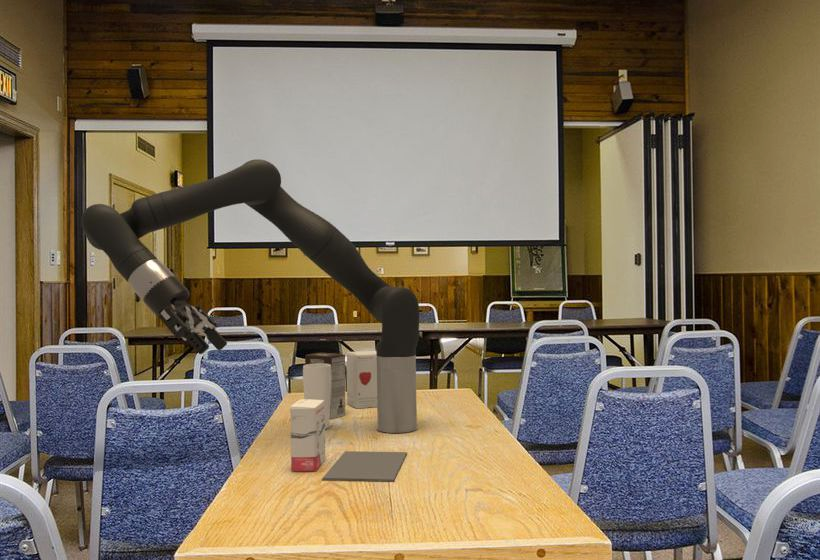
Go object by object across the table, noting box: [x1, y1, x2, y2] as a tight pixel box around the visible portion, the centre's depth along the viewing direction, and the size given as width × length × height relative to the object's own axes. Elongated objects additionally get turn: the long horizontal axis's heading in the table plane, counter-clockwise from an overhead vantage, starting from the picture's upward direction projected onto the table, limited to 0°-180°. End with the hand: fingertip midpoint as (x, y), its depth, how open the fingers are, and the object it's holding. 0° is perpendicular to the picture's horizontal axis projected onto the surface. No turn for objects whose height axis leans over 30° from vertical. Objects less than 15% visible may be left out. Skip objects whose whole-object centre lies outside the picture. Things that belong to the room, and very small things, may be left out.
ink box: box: [289, 398, 326, 472], centre depth 120 cm, size 9×5×12 cm, turn 175°
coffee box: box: [304, 352, 346, 420], centre depth 167 cm, size 9×6×16 cm
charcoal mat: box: [321, 450, 408, 483], centre depth 119 cm, size 18×12×1 cm
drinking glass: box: [302, 364, 332, 430], centre depth 152 cm, size 7×7×15 cm
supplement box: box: [346, 350, 377, 409], centre depth 181 cm, size 9×9×15 cm
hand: (214, 349), depth 122 cm, fingers open, 8 cm apart
